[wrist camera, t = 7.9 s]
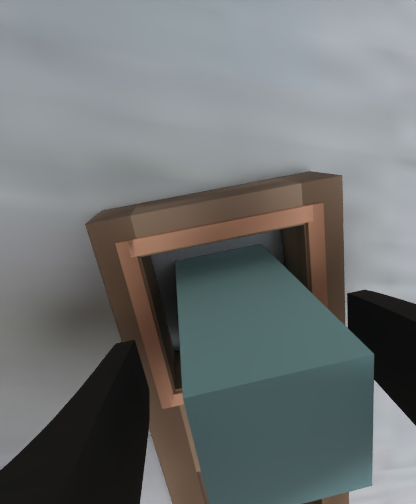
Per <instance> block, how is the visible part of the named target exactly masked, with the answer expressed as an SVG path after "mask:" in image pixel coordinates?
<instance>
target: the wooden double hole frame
mask: <svg viewBox="0 0 416 504" xmlns="http://www.w3.org/2000/svg"><path fill="white" fill-rule="evenodd" d="M85 225H86V228H87V231H88V234H89V237H90V241H91V244H92V247H93V250H94V253H95V257H96V260H97V263H98V266H99V269H100V273H101V276H102V279H103V282H104V285H105V289H106V292H107V295H108V298H109V301H110V305H111V308H112V311H113V314H114V317H115V321H116V324H117V327H118V330H119V333H120V337H121V340H122V342H126V341H130V340H135V342H136V345H137V349H138V352H139V356H140V359H141V362H142V366H143V369H144V372H145V376H146V379H147V383H148V386H149V389H150V421H149V429H150V433H151V436H152V439H153V442H154V445H155V449H156V452H157V455H158V458H159V461H160V465H161V468H162V471H163V474H164V477H165V481H166V484H167V487H168V490H169V493H170V497H171V500H172V503H173V504H209V500H208V496H207V492H206V488H205V485H204V481H203V477H202V473H201V469H200V465H199V461H198V457H197V453H196V449H195V445H194V441H193V437H192V433H191V429H190V425H189V421H188V417H187V413H186V409H185V405H184V401H183V393H182V375H181V357H180V351H179V352H174V349H173V345H172V341H171V337H170V333H169V329H168V325H167V321H166V317H165V313H164V309H163V305H162V301H161V296H160V292H159V288H158V284H157V280H156V276H155V272H154V268H153V264H152V260H151V256H150V255H154V254H159V253H164V252H169V251H174V250H179V249H184V248H189V247H194V246H199V245H204V244H209V243H214V242H219V241H224V240H229V239H234V238H239V237H244V236H249V235H254V234H259V233H264V232H269V231H274V230H279V229H282V239H283V250H284V261H285V268H286V269H287V270H289V271H290V272H291V273H292V274H293V275H294V276H295V277H296V278H297V279H298V280H299V281H300V282H301V283H302V284H303V285H304V286H305V287H306V288H307V289H308V290H309V291H310V292H311V293H312V294H313V295H314V296H315V297H316V298H317V299H318V300H319V301H320V302H321V303H322V304H323V305H324V306H325V307H326V308H327V309H328V310H329V311H331V312H332V313H333V314H334V315H335V316H336V317H337V318H338V319H339V320H340V321H341V322H342V323H343V324H344V325H345V290H344V241H343V192H342V175H335V174H327V173H319V172H305V173H300V174H295V175H289V176H284V177H279V178H273V179H268V180H263V181H258V182H252V183H247V184H242V185H236V186H231V187H226V188H220V189H215V190H210V191H204V192H199V193H194V194H189V195H183V196H178V197H173V198H167V199H162V200H157V201H151V202H146V203H141V204H135V205H130V206H125V207H120V208H114V209H109V210H104V211H101V212H100V213H98V214H97V215H96V216H95V217H94V218H92V219H91V220H90V221H89V222H88V223H86V224H85ZM303 504H349V492H346V493H342V494H338V495H334V496H330V497H326V498H323V499H319V500H315V501H311V502H307V503H303Z"/></svg>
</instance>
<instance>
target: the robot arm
mask: <svg viewBox="0 0 416 504" xmlns="http://www.w3.org/2000/svg"><path fill="white" fill-rule="evenodd" d="M347 302H348V329H349V330H350V331H351V332H352V333H353V334H354V335H355V336H356V337H357V338H358V339H359V340H360V341H361V342H362V343H363V344H364V345H365V346H366V347H367V348H368V349H369V350H370V351H371V352H373V353H374V380H375V381H376V382H377V383H378V384H379V385H380V387H381V388H382V389H383V390H384V391H385V392H386V393H387V394H388V395H389V397H390V398H391V399H392V400H393V401H394V402H395V403H396V404H397V405H398V407H399V408H400V409H401V410H402V411H403V412H404V413H405V414H406V415H407V416H408V418H409V419H410V420H411V421H412V422H413V423H414V424H415V425H416V304H414V303H411V302H407V301H404V300H401V299H398V298H394V297H391V296H387V295H384V294H380V293H377V292H373V291H368V290H361V291H357V292H352V293H347ZM149 421H150V389H149V386H148V383H147V379H146V376H145V372H144V369H143V366H142V362H141V359H140V356H139V352H138V349H137V345H136V342H135V340H130V341H126V342H121V343H116V344H115V345H114V346H113V348H112V349H111V350H110V351H109V353H108V354H107V355H106V356H105V358H104V359H103V360H102V362H101V363H100V364H99V365H98V367H97V368H96V369H95V371H94V372H93V373H92V374H91V375H90V377H89V378H88V379H87V380H86V382H85V383H84V384H83V385H82V387H81V388H80V389H79V390H78V391H77V393H76V394H75V395H74V396H73V397H72V398H71V399H70V401H69V402H68V403H67V404H66V405H65V406H64V407H63V408H62V410H61V411H60V412H59V413H58V414H57V415H56V416H55V418H54V419H53V420H52V421H51V422H50V423H49V424H48V425H47V426H46V427H45V428H44V429H43V430H42V431H41V432H40V433H39V434H38V435H37V436H36V437H35V438H34V439H33V440H32V441H31V442H30V443H29V444H28V445H27V446H26V447H25V448H24V449H23V450H22V451H21V452H20V453H19V454H18V455H17V456H16V457H15V458H14V459H13V460H12V461H10V462H9V463H8V464H7V465H6V466H5V467H4V468H3V469H1V470H0V504H140V497H141V489H142V481H143V472H144V464H145V456H146V448H147V439H148V430H149Z"/></svg>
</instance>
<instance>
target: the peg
mask: <svg viewBox="0 0 416 504" xmlns="http://www.w3.org/2000/svg"><path fill="white" fill-rule="evenodd" d="M175 267H176V285H177V303H178V321H179V339H180V357H181V375H182V393H183V401H184V405H185V409H186V413H187V417H188V421H189V425H190V429H191V433H192V437H193V441H194V445H195V449H196V453H197V457H198V461H199V465H200V469H201V473H202V477H203V481H204V485H205V488H206V492H207V496H208V500H209V504H303V503H307V502H311V501H315V500H319V499H323V498H326V497H330V496H334V495H338V494H342V493H346V492H349V491H353V490H357V489H361V488H365V487H369V486H372V451H373V392H374V353H373V352H371V351H370V350H369V349H368V348H367V347H366V346H365V345H364V344H363V343H362V342H361V341H360V340H359V339H358V338H357V337H356V336H355V335H354V334H353V333H352V332H351V331H350V330H349V329H348V328H347V327H346V326H345V325H344V324H343V323H342V322H341V321H340V320H339V319H338V318H337V317H336V316H335V315H334V314H333V313H332V312H331V311H329V310H328V309H327V308H326V307H325V306H324V305H323V304H322V303H321V302H320V301H319V300H318V299H317V298H316V297H315V296H314V295H313V294H312V293H311V292H310V291H309V290H308V289H307V288H306V287H305V286H304V285H303V284H302V283H301V282H300V281H299V280H298V279H297V278H296V277H295V276H294V275H293V274H292V273H291V272H290V271H289V270H287V269H286V268H285V267H284V266H283V265H282V264H281V263H280V262H279V261H278V260H277V259H276V258H275V257H274V256H273V255H272V254H271V253H270V252H269V251H268V250H267V249H266V248H265V247H264V246H263V245H262V244H258V245H254V246H249V247H244V248H239V249H234V250H229V251H224V252H219V253H214V254H209V255H204V256H199V257H194V258H189V259H184V260H179V261H175Z"/></svg>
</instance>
